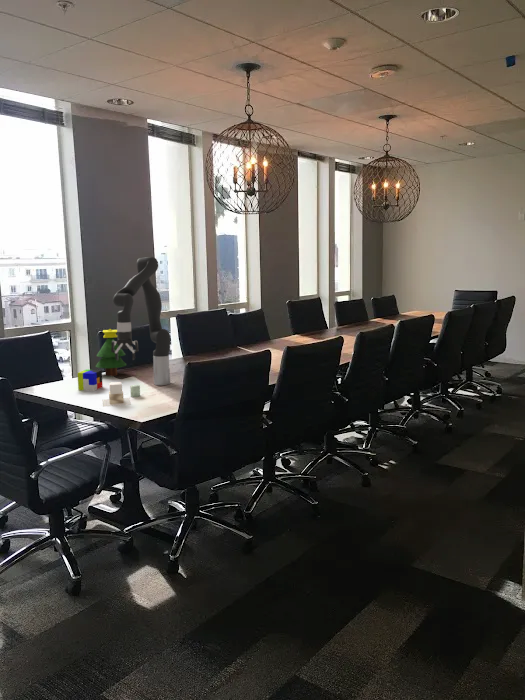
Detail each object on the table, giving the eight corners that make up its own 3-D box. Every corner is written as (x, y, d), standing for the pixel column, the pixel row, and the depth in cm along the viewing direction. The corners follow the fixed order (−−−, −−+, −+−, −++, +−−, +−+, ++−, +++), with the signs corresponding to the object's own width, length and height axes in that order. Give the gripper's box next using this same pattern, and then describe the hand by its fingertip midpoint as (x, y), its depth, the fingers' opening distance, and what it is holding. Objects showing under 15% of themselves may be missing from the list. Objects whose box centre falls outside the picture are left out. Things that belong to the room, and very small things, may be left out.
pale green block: (139, 395, 326) (139, 384, 325) (140, 397, 321) (140, 386, 320) (130, 396, 325) (130, 385, 324) (131, 398, 320) (130, 387, 319)
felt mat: (129, 398, 319) (129, 397, 319) (131, 405, 306) (131, 404, 306) (102, 400, 315) (102, 399, 315) (102, 407, 302) (102, 406, 302)
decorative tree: (95, 378, 368) (93, 330, 363) (96, 372, 387) (94, 326, 382) (127, 377, 372) (125, 329, 367) (126, 371, 391) (125, 326, 386)
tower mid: (121, 391, 313) (121, 381, 312) (122, 393, 307) (121, 384, 307) (109, 391, 311) (109, 382, 311) (110, 394, 306) (109, 384, 305)
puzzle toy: (94, 390, 337) (93, 373, 335) (78, 390, 339) (77, 372, 337) (102, 386, 347) (101, 370, 345) (86, 386, 349) (86, 369, 347)
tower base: (122, 399, 315) (122, 390, 314) (123, 403, 308) (123, 393, 307) (109, 400, 313) (108, 391, 312) (109, 404, 306) (109, 394, 305)
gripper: (138, 329, 324) (139, 358, 327) (111, 329, 323) (113, 358, 326) (136, 331, 317) (137, 361, 320) (109, 331, 316) (110, 361, 318)
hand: (125, 359), depth 323 cm, fingers open, 8 cm apart
